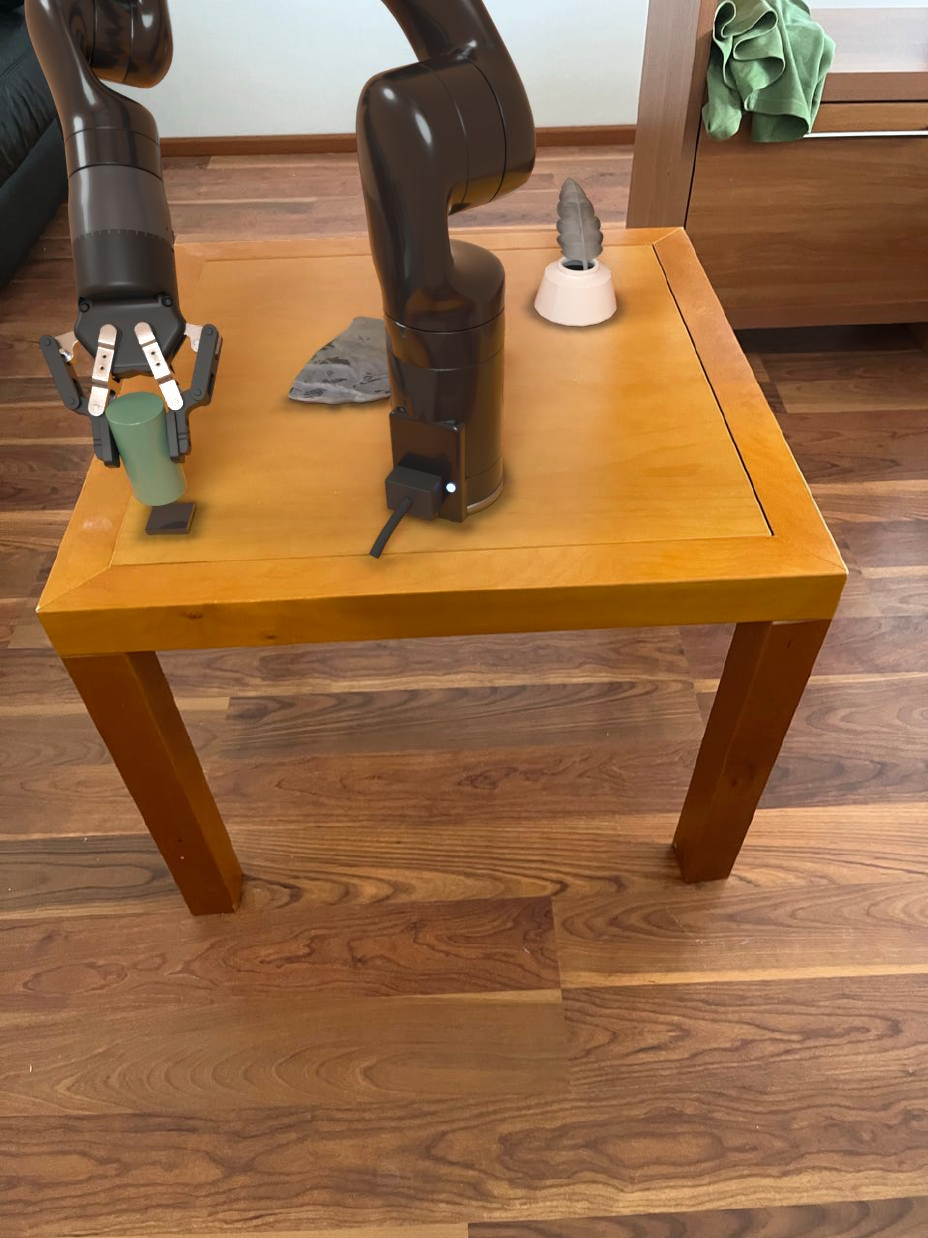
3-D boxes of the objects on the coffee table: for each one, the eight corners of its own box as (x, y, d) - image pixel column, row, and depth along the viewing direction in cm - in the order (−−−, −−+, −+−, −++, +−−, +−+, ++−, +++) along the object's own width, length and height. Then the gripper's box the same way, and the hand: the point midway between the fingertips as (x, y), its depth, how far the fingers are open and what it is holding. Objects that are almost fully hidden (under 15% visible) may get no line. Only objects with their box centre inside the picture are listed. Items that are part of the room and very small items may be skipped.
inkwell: (540, 329, 100) (544, 238, 93) (517, 254, 113) (520, 168, 106) (625, 324, 101) (635, 233, 94) (593, 249, 113) (600, 163, 106)
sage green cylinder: (196, 492, 77) (173, 410, 71) (146, 513, 75) (118, 431, 69) (173, 465, 80) (149, 384, 74) (125, 485, 78) (96, 404, 72)
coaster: (188, 533, 78) (186, 528, 78) (146, 534, 78) (144, 529, 78) (195, 507, 81) (194, 501, 80) (155, 507, 81) (153, 502, 80)
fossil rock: (499, 350, 98) (499, 329, 96) (462, 432, 88) (462, 411, 86) (341, 329, 101) (339, 309, 99) (288, 406, 91) (285, 385, 90)
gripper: (8, 231, 68) (33, 465, 69) (206, 219, 69) (229, 450, 70) (46, 266, 76) (68, 477, 76) (224, 255, 77) (245, 463, 77)
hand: (145, 463), depth 73 cm, fingers closed on sage green cylinder, 4 cm apart
